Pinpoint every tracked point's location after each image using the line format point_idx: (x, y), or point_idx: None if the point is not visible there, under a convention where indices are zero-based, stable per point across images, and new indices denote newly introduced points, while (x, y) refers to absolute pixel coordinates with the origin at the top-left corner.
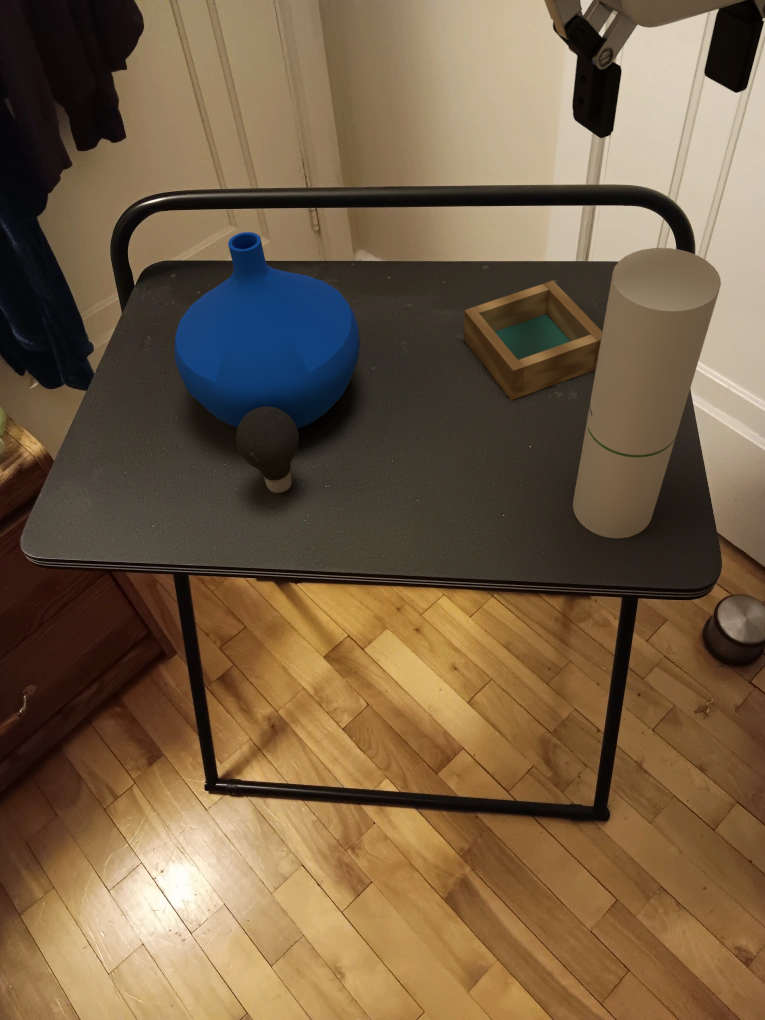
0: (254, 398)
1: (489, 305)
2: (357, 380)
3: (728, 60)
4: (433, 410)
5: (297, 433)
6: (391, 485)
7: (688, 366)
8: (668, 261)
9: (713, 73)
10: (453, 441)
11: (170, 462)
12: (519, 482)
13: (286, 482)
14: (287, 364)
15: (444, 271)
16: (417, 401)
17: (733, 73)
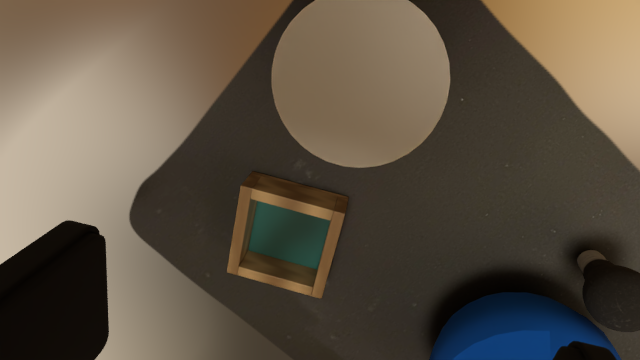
0: (603, 341)
1: (298, 287)
2: (436, 303)
3: (56, 327)
4: (412, 234)
5: (598, 283)
6: (510, 194)
7: None
8: (320, 112)
9: (96, 325)
10: (427, 195)
11: (632, 338)
12: None
13: (593, 255)
14: None
15: (278, 345)
16: (414, 251)
17: (74, 280)
